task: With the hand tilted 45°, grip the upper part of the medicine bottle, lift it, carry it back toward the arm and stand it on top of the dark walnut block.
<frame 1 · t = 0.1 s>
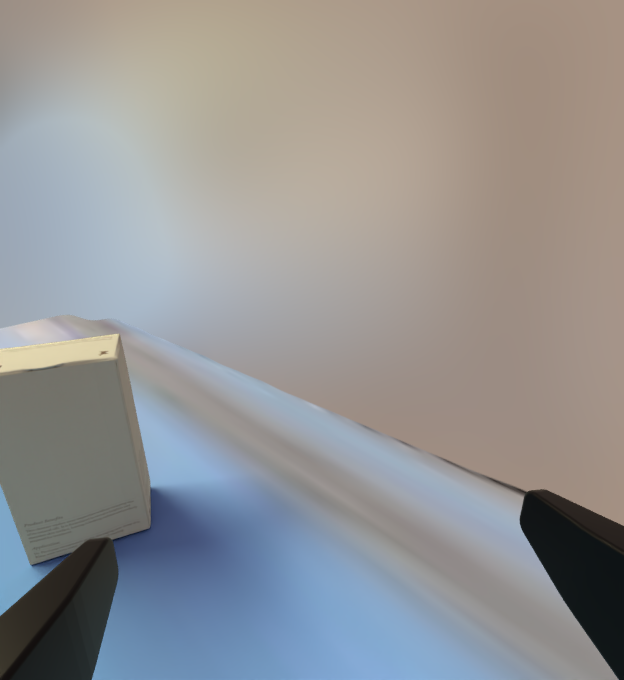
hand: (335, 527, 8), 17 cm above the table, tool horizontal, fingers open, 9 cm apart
skincare box: (95, 525, 29), on the table
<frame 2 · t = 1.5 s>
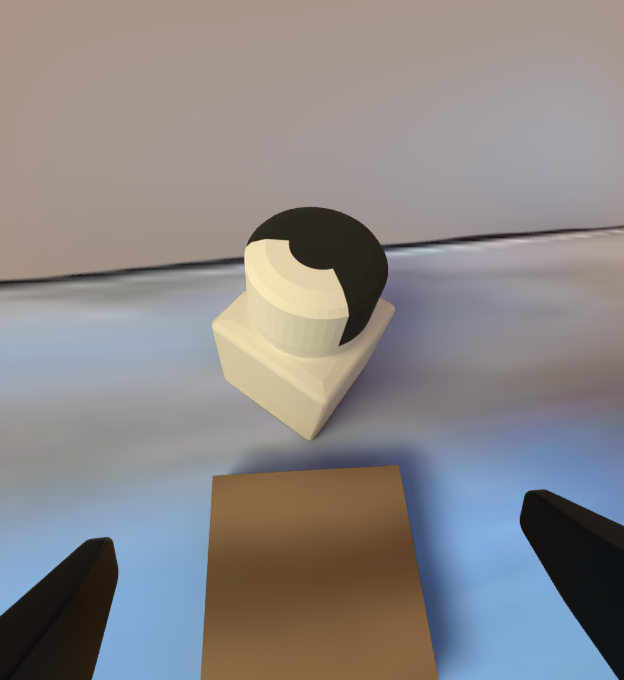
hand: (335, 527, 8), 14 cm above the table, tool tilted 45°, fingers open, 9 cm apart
medicine bottle: (297, 372, 25), on the table
walnut block: (309, 577, 19), on the table
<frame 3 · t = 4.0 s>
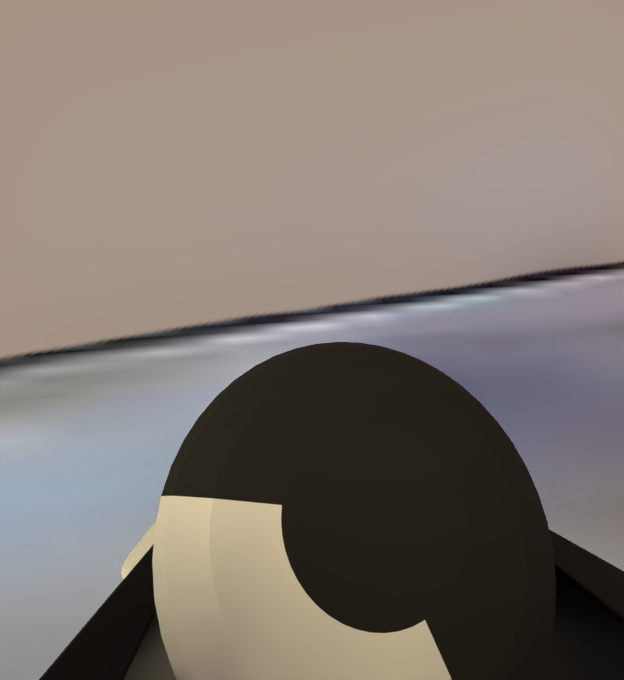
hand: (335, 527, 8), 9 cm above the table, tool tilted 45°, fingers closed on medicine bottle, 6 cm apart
medicine bottle: (300, 527, 15), on the table, touching gripper
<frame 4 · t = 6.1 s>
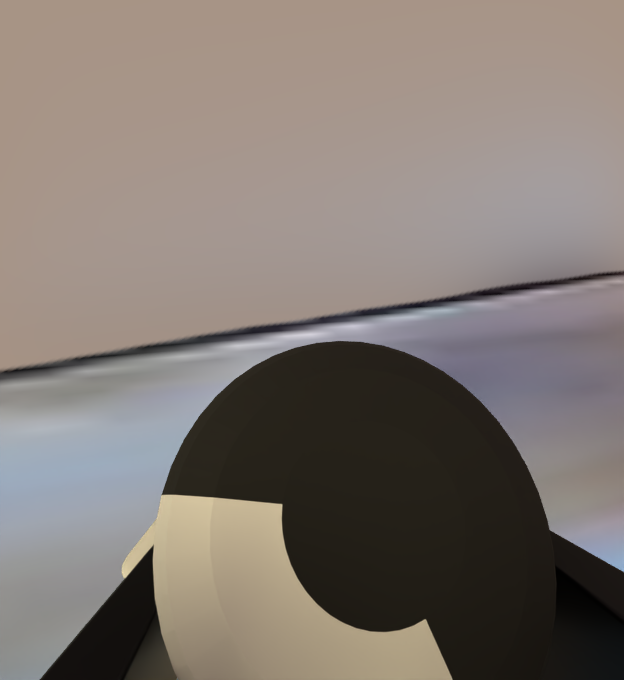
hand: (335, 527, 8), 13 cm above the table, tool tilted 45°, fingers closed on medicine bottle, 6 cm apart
medicine bottle: (300, 526, 15), point 4 cm above the table, touching gripper
when the fingers open (12 cm above the table, at t = 8.0 s): medicine bottle drops 1 cm, resting on walnut block.
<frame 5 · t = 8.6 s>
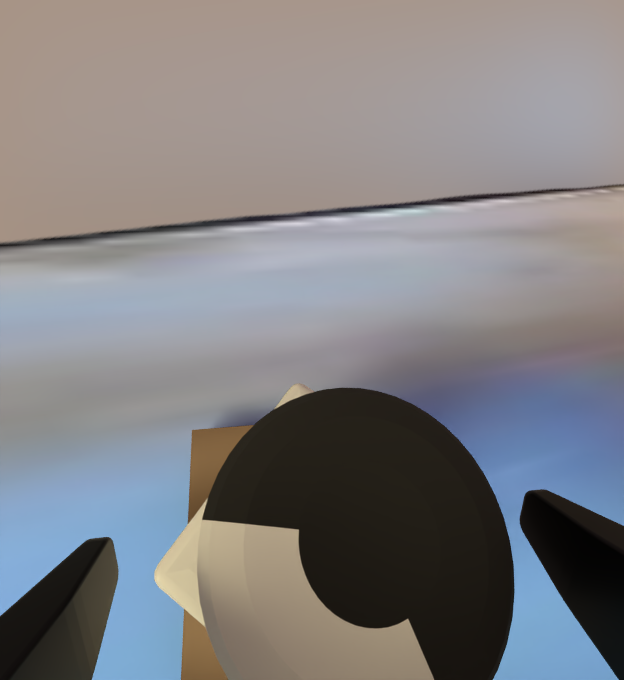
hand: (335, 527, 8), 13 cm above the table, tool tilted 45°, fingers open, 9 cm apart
medicine bottle: (304, 534, 17), point 2 cm above the table, touching walnut block
walnut block: (294, 528, 19), on the table, touching medicine bottle
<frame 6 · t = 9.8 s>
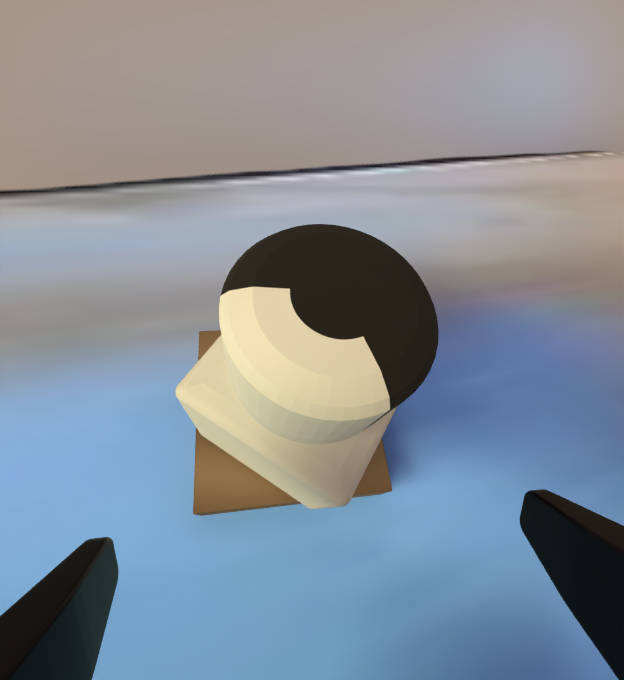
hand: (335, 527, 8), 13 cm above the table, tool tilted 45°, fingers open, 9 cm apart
medicine bottle: (291, 414, 20), point 2 cm above the table
walnut block: (286, 419, 23), on the table
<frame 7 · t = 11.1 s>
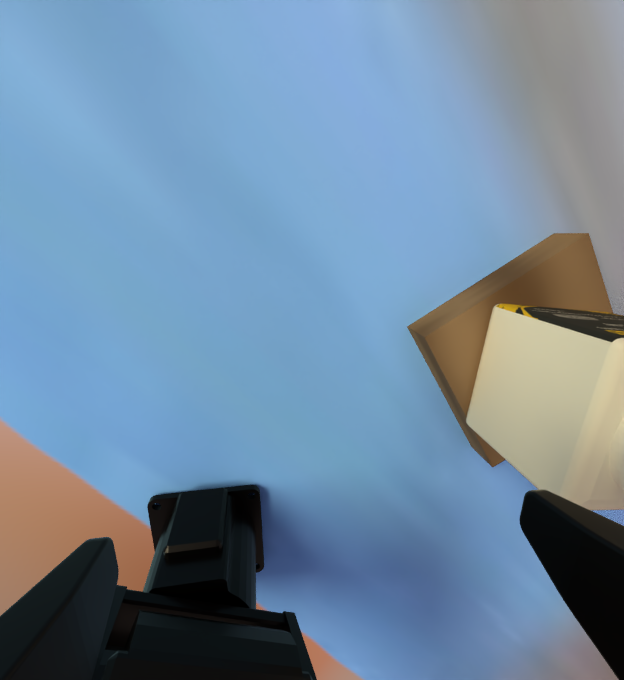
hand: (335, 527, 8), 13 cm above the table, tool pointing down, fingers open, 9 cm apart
medicine bottle: (530, 367, 21), point 2 cm above the table, touching walnut block
walnut block: (501, 344, 23), on the table, touching medicine bottle
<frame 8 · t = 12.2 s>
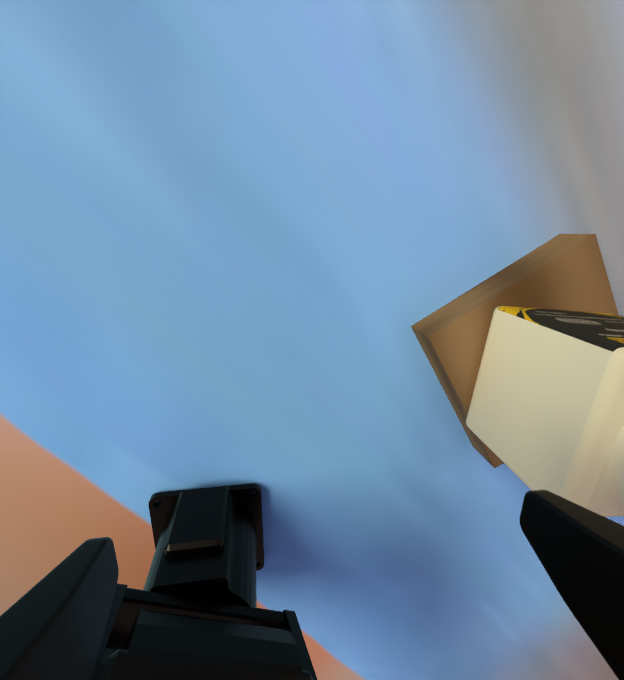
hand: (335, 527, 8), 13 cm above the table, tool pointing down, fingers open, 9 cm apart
medicine bottle: (531, 368, 20), point 2 cm above the table, touching walnut block
walnut block: (505, 345, 23), on the table, touching medicine bottle
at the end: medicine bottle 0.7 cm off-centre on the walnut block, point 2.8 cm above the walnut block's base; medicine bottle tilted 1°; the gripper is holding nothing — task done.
